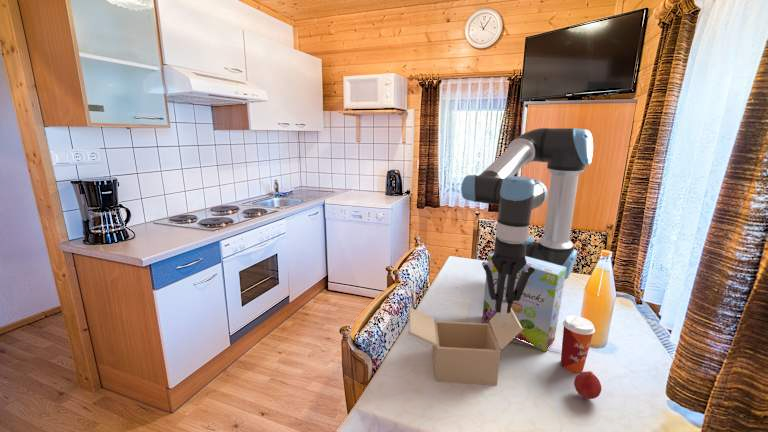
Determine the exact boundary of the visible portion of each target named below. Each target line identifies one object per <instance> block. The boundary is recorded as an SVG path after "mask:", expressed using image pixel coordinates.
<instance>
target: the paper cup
mask: <svg viewBox="0 0 768 432" xmlns="http://www.w3.org/2000/svg"><path fill="white" fill-rule="evenodd" d="M562 325H563V331H562V332H563V333H562V343H561V356H560V365H561V367H562V368H563V369H565V370H566V371H568V372H571V373H574V374H580V373H581V372H584V367H585V364H586V360H587V357H588V353H589V350H590V346H591V342H592V338H593V336H594V335H593V334H595V332H596V329H595V326H594V323H592V321H590V320H589V319H587V318H585V317H582V316H578V315H569V316H566V318H564V319H563V322H562Z"/></svg>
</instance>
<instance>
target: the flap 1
mask: <svg viewBox="0 0 768 432" xmlns="http://www.w3.org/2000/svg"><path fill="white" fill-rule="evenodd" d="M434 321H435V318H434V317H432V316H430V315H428V314H426V313H424V312H421V311H420V310H418V309H415V308H413V307H411V306H410V307H409V309H408V335H409V336H411V337H414V338H415V339H418V340H420V341H422V342H424V343H427V344H429V345H431V346H432V345H433V346H436V345H437V342H436V333H435V324H434Z"/></svg>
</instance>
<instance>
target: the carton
mask: <svg viewBox="0 0 768 432" xmlns="http://www.w3.org/2000/svg"><path fill="white" fill-rule="evenodd" d="M434 324H435V333H436V342H437V345H436V346H433V345H431V347H432V349H431V353H432V355H431V356H432V365H433V377H434V382H439V383H453V384H454V383H455V384H470V385H473V384H474V385H488V386H497V385H498V376H499V367H500V359H501V350H500V347H499V345H498V342H497V340H496V337H495V335H494V332H493V330H492V328H491V327H490V324H487V323H482V322H466V321H465V322H463V321H462V322H461V321H448V320H447V321H443V320H434Z"/></svg>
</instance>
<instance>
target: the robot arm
mask: <svg viewBox="0 0 768 432" xmlns="http://www.w3.org/2000/svg"><path fill="white" fill-rule="evenodd" d="M593 152H594V141H593V134H592V133H591V131H590V130H588V129H584V128H576V127H572V128H571V127H570V128H569V127H568V128H567V127H566V128H560V127H559V128H549V127H548V128H547V127H541V128H540V127H539V128H536V129H532V130H529V131H526V132H524V133H522V134H520V135H519V136H517V137H515V138H514V139H513V140H512V141H510V142H509V144H508V146H507V149H506V150H505V151H504V152H503V153H502V154H501V155H500V156H499V157H497V158H496V159H495V160H494V161H493V162H492V163H491V164H490V165H489V166H488V167H486V168H485V169H484V171H482V172H481V173H480V174H479V175H476V174H467V175H466V176H465V177H464V178H463V180H462V182H461V187H460V190H461V191H460V192H461V193H460V194H461V196H462V198H463V199H464V200H466V201H471V202H474V203H481V204H489V205H496V206H498V213H497V214H498V215H497V224H496V229H495V230H496V231H495V237H496V238H495V240H494V248H493V252H494V255H493V256H492V258H491V260H490V261H488V260H487V261H483V262H482V263H481V267H482V268H483V270H484V271H485V278H486V277H487V283H488V289H489V294H490V297H491V299H492V300H496V303H495V310H496V312H498V318H497V320H498V323H499V325H503V326H505V322H506V314H507V313H510V312H511V304H513V301H519V300H520V298H521V296H522V293H523V291H524V288H525V286H526V284H527V281H528V279H529V277H530V275H531V274H532V273H533V272H534V271H535V269H534V268H533V267H532V265H531V264H528V263H526V259H525V256H527V257H531V258H535V259H538V260H542V261H546V262H549V263H553V264H556V265H560V266H564V267H567V268H566V275H565V280H567V279H568V278H569V277H570V275H571V273H572V271H573V269H574V266H575V264H576V260H577V257H578V250H577V249H574V243H573V242H572V241H571V232H572V226H573V224H572V223H573V219H574V218H573V217H574V211H575V205H576V197H577V189H578V184H579V175H580V174H581V173H583V172H585V169H586V166H589V165H591V164H592V162H593V161H592V160H593ZM531 162H536V163H537V162H540V163H547V167H546V170H548V171H549V172H550V179H549V187H548V188H549V189H547V186H546V185H545V184H544V183H543V182H542V181H541V180H538V179H533V178H531V177H526V176H517V174H518V172H519V171H520V170H521V169H522V168H523V167H524V166H526V165H528V164H530V163H531ZM515 175H516V176H515ZM546 199H547V206H546V213H545V222H544V223H545V224H544V229H543V230H544V231H543V236H541V237H540V238H539V239H538V242H537V241H535V238H534V236H532V235H529V232H530V231H529V230H530V223H531V216H532V211H533V210H534V209H537V208H539V207H541V205H542V204H543V203H544V202H545V201H546ZM493 265H494V266H495V267H496V269H497V270H498V281H497V290H496V293H495V289H494V283H493V277H492V272H491V270H492V269H493V267H492V266H493ZM522 268H523V271H522V273H521V275H520V278H519V280H518V283H517V285H516V287H515V290H514V286H515V279H516V276H517V273H518V272H519V271H520V270H521V269H522ZM507 274H508V280H507V288H506V296H505V297H506V299H505V298H503V293H504V285H505V279H506V275H507Z"/></svg>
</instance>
